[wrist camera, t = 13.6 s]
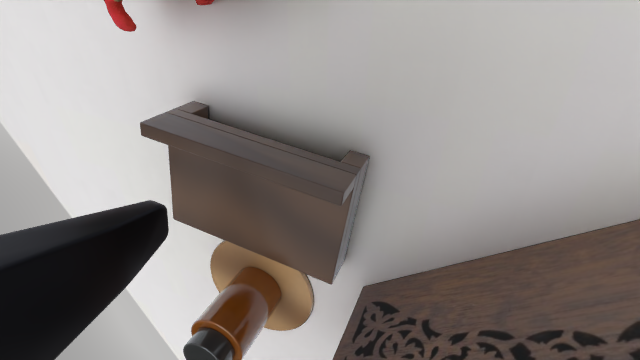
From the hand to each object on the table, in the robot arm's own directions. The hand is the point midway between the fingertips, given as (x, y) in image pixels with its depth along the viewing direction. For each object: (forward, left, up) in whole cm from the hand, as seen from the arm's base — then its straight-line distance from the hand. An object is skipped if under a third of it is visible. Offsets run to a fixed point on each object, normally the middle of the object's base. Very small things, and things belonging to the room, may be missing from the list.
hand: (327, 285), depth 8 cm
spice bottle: (-17, +8, -13) cm, 22 cm away
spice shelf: (-7, +8, -13) cm, 17 cm away
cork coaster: (-17, +8, -13) cm, 22 cm away
